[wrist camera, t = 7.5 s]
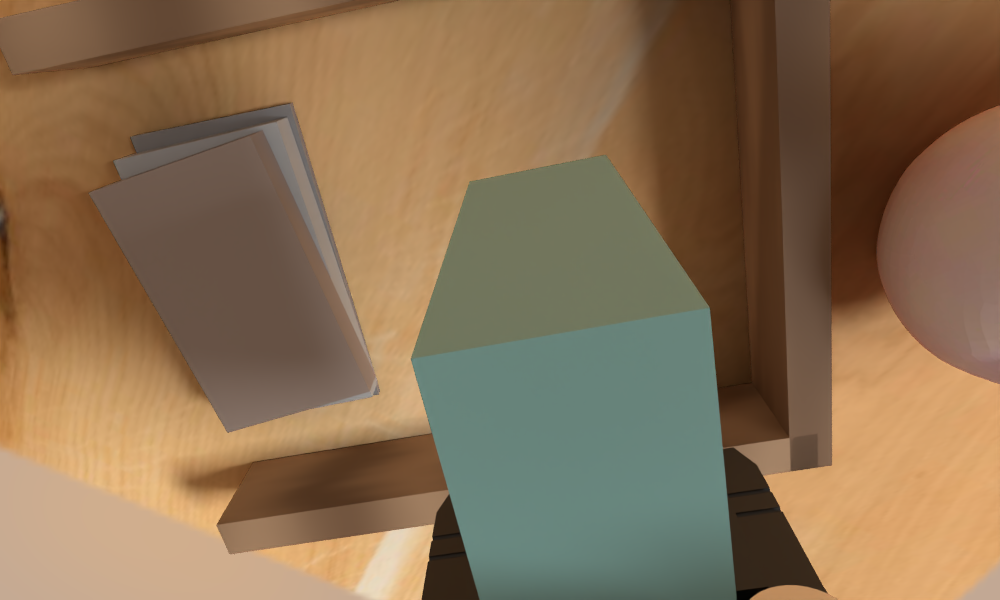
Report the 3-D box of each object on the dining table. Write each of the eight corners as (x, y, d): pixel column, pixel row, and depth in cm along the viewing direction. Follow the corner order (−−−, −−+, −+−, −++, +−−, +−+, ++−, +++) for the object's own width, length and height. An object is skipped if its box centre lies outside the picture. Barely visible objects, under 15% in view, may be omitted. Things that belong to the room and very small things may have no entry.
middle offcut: (287, 117, 23) (276, 121, 22) (377, 381, 28) (372, 396, 26) (130, 154, 24) (112, 161, 23) (242, 408, 28) (232, 424, 27)
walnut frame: (771, -136, 21) (829, -171, 17) (789, 407, 28) (831, 465, 24) (73, 21, 23) (-12, 20, 19) (263, 489, 30) (229, 554, 26)
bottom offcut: (299, 100, 24) (289, 103, 23) (383, 380, 29) (378, 394, 28) (146, 131, 25) (130, 136, 24) (253, 402, 29) (243, 417, 28)
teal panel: (605, 154, 12) (709, 308, 5) (666, 576, 15) (770, 970, 9) (469, 181, 12) (410, 359, 6) (560, 590, 16) (589, 983, 9)
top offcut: (262, 130, 22) (250, 135, 21) (375, 375, 26) (369, 391, 25) (108, 184, 23) (88, 192, 22) (238, 415, 27) (227, 432, 26)
